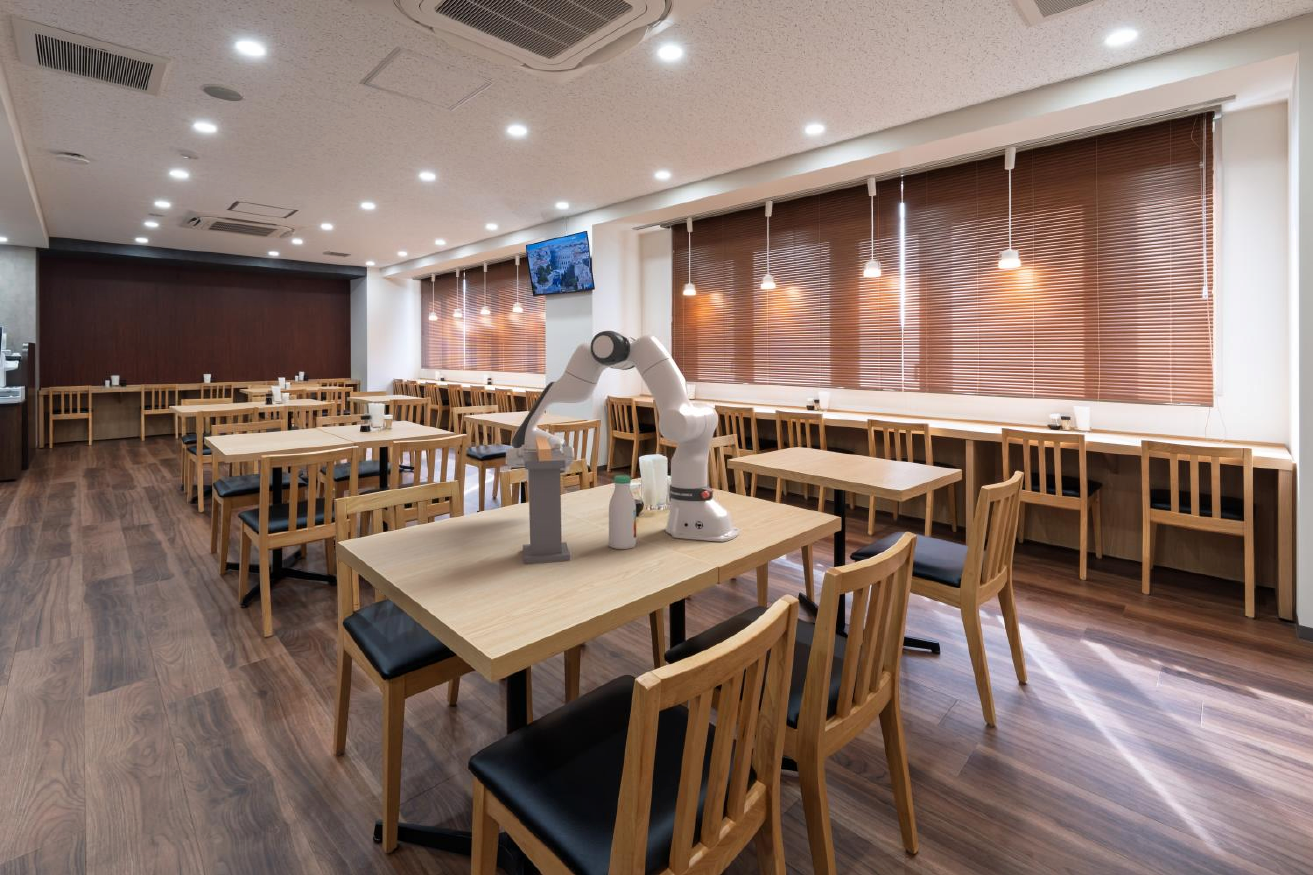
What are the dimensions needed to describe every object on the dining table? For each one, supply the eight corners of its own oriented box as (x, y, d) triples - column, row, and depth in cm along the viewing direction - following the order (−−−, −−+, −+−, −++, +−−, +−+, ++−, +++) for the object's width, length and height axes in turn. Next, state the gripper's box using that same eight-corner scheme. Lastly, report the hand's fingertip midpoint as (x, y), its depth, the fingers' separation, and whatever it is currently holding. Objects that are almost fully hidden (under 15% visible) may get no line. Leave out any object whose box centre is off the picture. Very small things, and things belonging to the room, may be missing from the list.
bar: (535, 446, 185) (535, 436, 185) (545, 446, 186) (545, 436, 186) (539, 461, 160) (538, 449, 160) (551, 460, 161) (551, 448, 160)
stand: (522, 547, 178) (520, 452, 175) (565, 545, 181) (564, 450, 177) (523, 566, 163) (520, 461, 159) (570, 562, 165) (569, 460, 162)
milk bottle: (630, 551, 175) (629, 479, 173) (604, 548, 178) (603, 477, 175) (640, 543, 183) (640, 474, 180) (615, 540, 185) (615, 472, 183)
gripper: (505, 455, 197) (504, 437, 184) (571, 452, 201) (575, 435, 189) (505, 474, 194) (504, 458, 182) (573, 471, 199) (576, 455, 186)
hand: (541, 446), depth 185 cm, fingers open, 8 cm apart
